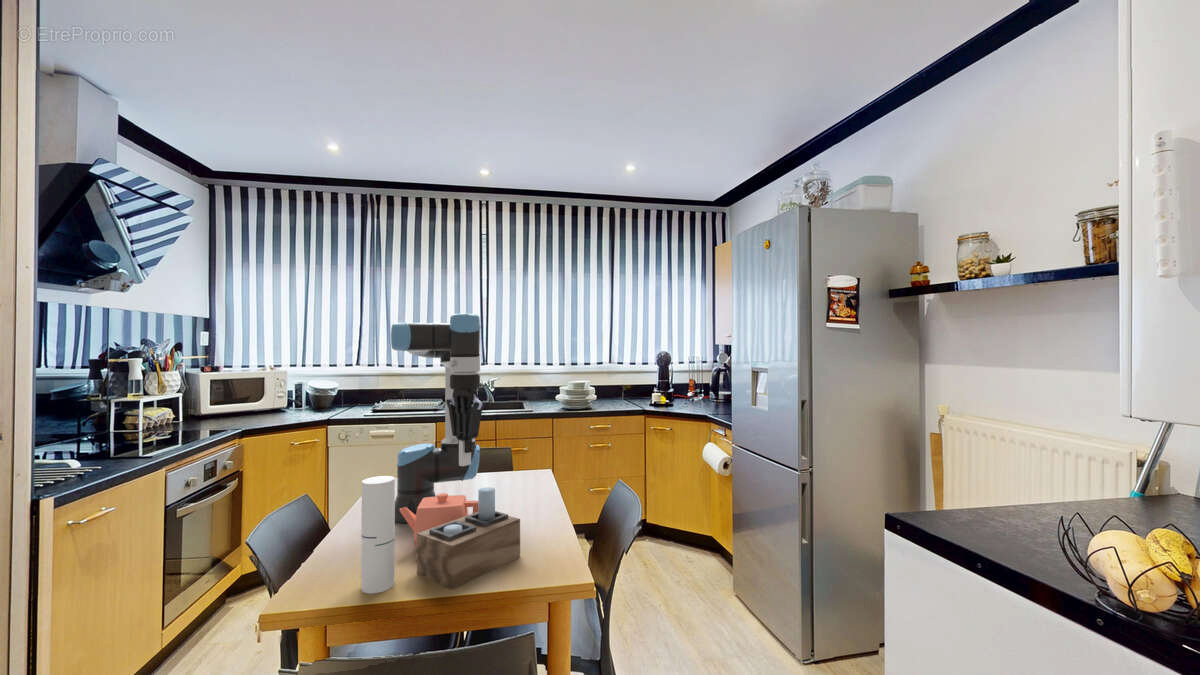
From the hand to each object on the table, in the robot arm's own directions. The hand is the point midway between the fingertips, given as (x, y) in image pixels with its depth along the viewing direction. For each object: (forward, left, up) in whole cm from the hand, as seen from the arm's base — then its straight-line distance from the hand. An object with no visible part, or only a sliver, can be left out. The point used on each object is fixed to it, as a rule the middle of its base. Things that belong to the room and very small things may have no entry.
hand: (465, 464), depth 125 cm
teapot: (-18, +6, -26) cm, 32 cm away
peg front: (0, -4, -24) cm, 24 cm away
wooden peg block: (0, +2, -26) cm, 26 cm away
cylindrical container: (-9, -18, -26) cm, 33 cm away
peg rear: (0, +7, -17) cm, 18 cm away
